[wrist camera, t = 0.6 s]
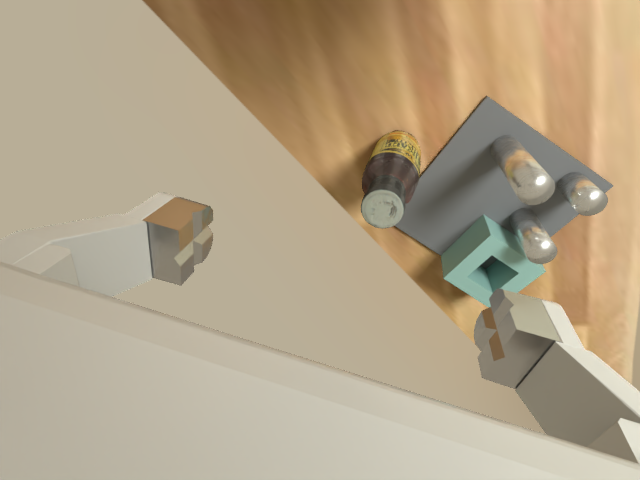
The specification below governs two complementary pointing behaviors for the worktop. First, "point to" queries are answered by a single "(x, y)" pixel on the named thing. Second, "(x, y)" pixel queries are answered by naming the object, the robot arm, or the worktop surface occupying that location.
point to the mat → (485, 182)
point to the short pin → (582, 194)
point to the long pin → (522, 171)
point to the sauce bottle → (390, 179)
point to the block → (476, 248)
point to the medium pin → (532, 236)
